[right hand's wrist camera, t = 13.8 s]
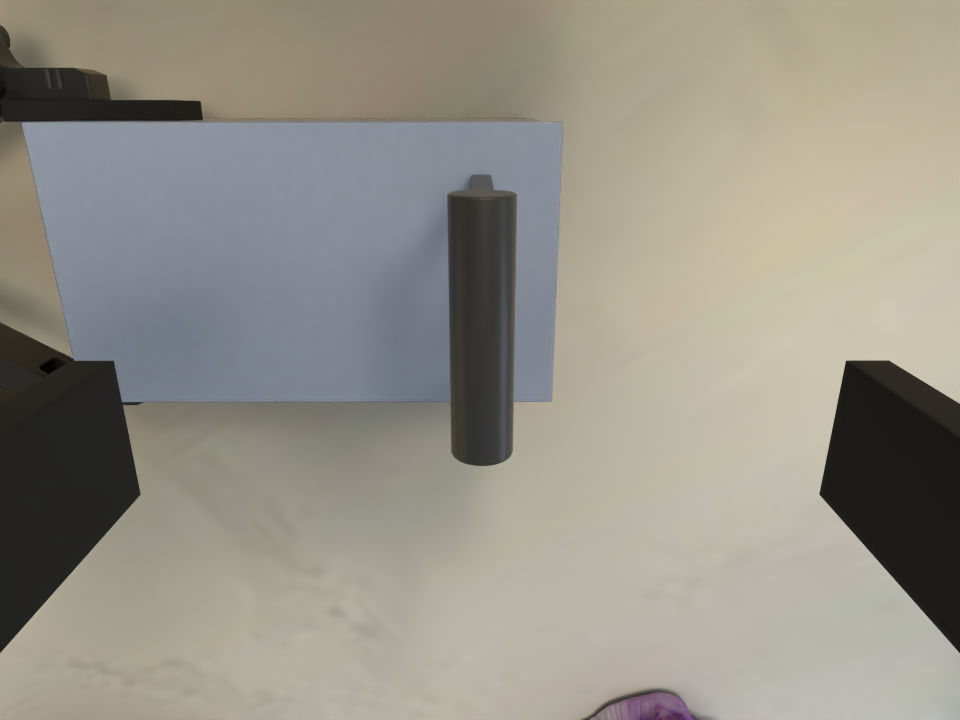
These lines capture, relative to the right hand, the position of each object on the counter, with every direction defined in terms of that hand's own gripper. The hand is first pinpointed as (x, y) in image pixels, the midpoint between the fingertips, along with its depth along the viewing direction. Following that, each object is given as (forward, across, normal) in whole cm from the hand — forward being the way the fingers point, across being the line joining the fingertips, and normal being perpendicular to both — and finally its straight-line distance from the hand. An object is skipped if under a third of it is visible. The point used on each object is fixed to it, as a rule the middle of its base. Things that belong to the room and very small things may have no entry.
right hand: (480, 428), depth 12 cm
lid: (+14, -6, 0) cm, 15 cm away
